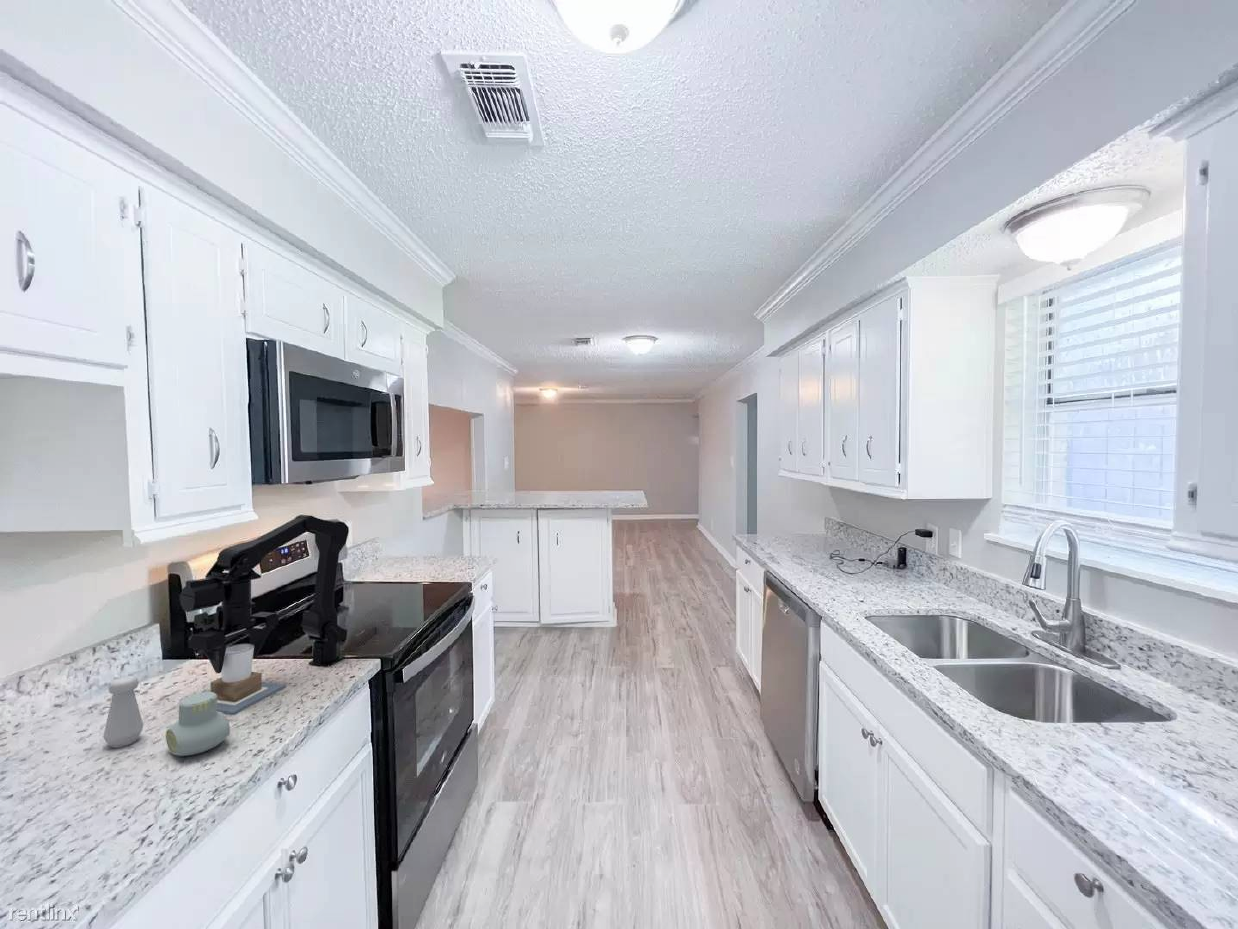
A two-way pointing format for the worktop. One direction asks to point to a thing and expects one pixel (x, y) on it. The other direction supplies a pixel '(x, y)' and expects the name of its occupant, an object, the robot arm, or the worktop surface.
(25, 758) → the worktop surface
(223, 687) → the walnut block
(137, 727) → the salt shaker
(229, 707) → the board
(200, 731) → the air freshener
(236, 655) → the white cup
